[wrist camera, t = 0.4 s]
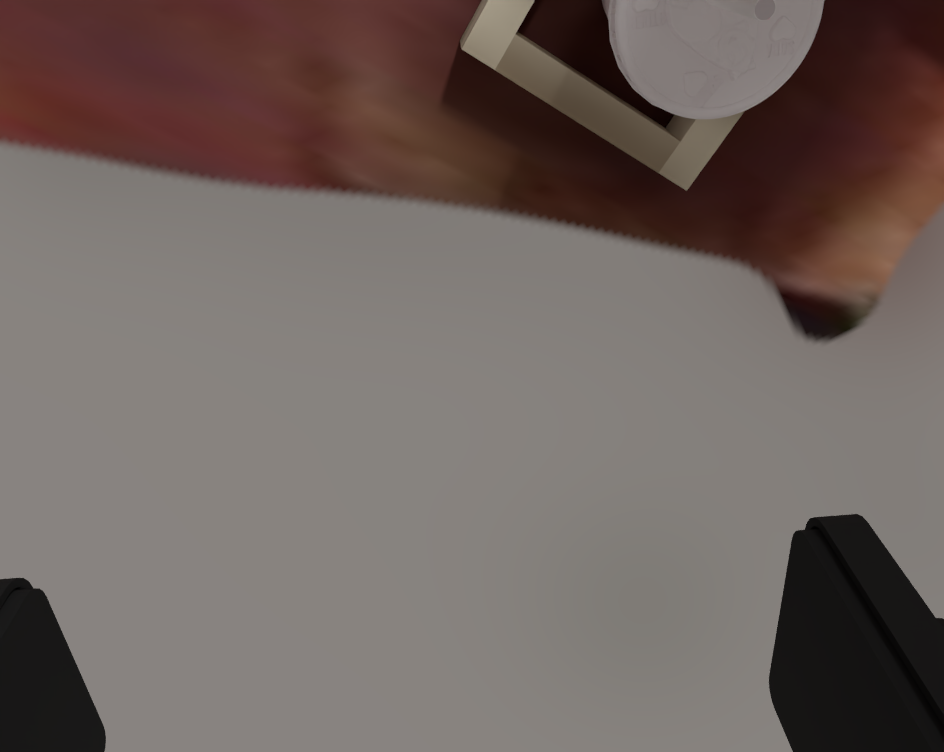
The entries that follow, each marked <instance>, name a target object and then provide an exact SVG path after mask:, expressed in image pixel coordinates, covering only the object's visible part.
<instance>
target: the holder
mask: <svg viewBox="0 0 944 752" xmlns="http://www.w3.org/2000/svg"><path fill="white" fill-rule="evenodd" d="M534 1H535V0H482V1H481V3H480V5H479V6H478V8H477V10H476V12H475V14H474V16H473V17H472V19H471V21H470V23H469V25H468V27H467V28H466V30H465V32H464V34H463V36H462V38H461V39H460V45H461V49H462V50H464V51H465V52H467V53H468V54H470V55H471V56H473V57H475V58H476V59H478V60H479V61H481V62H483V63H484V64H486V65H487V66H489V67H491V68H492V69H494V70H495V71H497V72H498V73H500V74H502V75H503V76H505V77H506V78H508V79H510V80H511V81H513V82H514V83H516V84H518V85H519V86H521V87H522V88H524V89H526V90H527V91H529V92H530V93H532V94H533V95H535V96H537V97H538V98H540V99H541V100H543V101H545V102H546V103H548V104H549V105H551V106H553V107H554V108H556V109H557V110H559V111H560V112H562V113H564V114H565V115H567V116H568V117H570V118H572V119H573V120H575V121H576V122H578V123H580V124H581V125H583V126H584V127H586V128H587V129H589V130H591V131H592V132H594V133H595V134H597V135H599V136H600V137H602V138H603V139H605V140H607V141H608V142H610V143H611V144H613V145H614V146H616V147H618V148H619V149H621V150H622V151H624V152H626V153H627V154H629V155H630V156H632V157H634V158H635V159H637V160H638V161H640V162H641V163H643V164H645V165H646V166H648V167H649V168H651V169H653V170H654V171H656V172H657V173H659V174H661V175H662V176H664V177H665V178H667V179H669V180H670V181H672V182H673V183H675V184H676V185H678V186H680V187H681V188H683V189H684V190H686V191H687V190H688V188H689V187H690V186H691V184H692V183H693V182H694V180H695V179H696V177H697V176H698V175H699V173H700V172H701V171H702V169H703V168H704V166H705V165H706V164H707V162H708V161H709V160H710V158H711V157H712V155H713V154H714V153H715V151H716V150H717V149H718V147H719V146H720V144H721V143H722V142H723V140H724V139H725V138H726V136H727V135H728V133H729V132H730V131H731V129H732V128H733V126H734V125H735V124H736V122H737V121H738V120H739V118H740V117H741V115H742V114H743V113H744V111H743V112H741V113H738V114H735V115H732V116H728V117H723V118H717V119H690V118H685V117H681V116H678V115H674V116H673V118H672V119H671V121H670V122H669V124H668V125H667V126H666V128H665V127H663V126H662V125H660V124H659V123H657V122H656V121H654V120H653V119H651V118H649V117H648V116H646V115H645V114H643V113H642V112H640V111H639V110H637V109H636V108H634V107H633V106H631V105H629V104H628V103H626V102H625V101H623V100H622V99H620V98H619V97H617V96H616V95H614V94H613V93H611V92H609V91H608V90H606V89H605V88H603V87H602V86H600V85H599V84H597V83H596V82H594V81H593V80H591V79H590V78H588V77H586V76H585V75H583V74H582V73H580V72H579V71H577V70H576V69H574V68H573V67H571V66H570V65H568V64H566V63H565V62H563V61H562V60H560V59H559V58H557V57H556V56H554V55H553V54H551V53H550V52H548V51H546V50H545V49H543V48H542V47H540V46H539V45H537V44H536V43H534V42H533V41H531V40H530V39H528V38H527V37H525V36H523V35H522V34H520V33H519V32H517V31H518V29H519V27H520V25H521V24H522V22H523V20H524V18H525V17H526V15H527V13H528V11H529V10H530V8H531V6H532V4H533V3H534ZM824 1H825V0H824Z"/></svg>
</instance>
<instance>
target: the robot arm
mask: <svg viewBox="0 0 944 752" xmlns="http://www.w3.org/2000/svg"><path fill="white" fill-rule="evenodd" d="M769 688H770V694H771V698H772V702H773V705H774V708H775V711H776V713H777V715H778V717H779V720H780V722H781V724H782V727H783V729H784V732H785V734H786V736H787V739H788V741H789V743H790V746H791V748H792V750H793V752H944V619H942V618H935V617H934V615H933V613H932V612H931V611H930V609H929V608H928V606H927V605H926V604H925V602H924V601H923V599H922V598H921V597H920V595H919V594H918V592H917V591H916V590H915V588H914V587H913V586H912V584H911V583H910V581H909V580H908V578H907V577H906V576H905V574H904V573H903V571H902V570H901V568H900V567H899V566H898V564H897V563H896V562H895V560H894V559H893V557H892V556H891V554H890V553H889V552H888V550H887V549H886V548H885V546H884V545H883V543H882V542H881V540H880V539H879V538H878V536H877V535H876V534H875V532H874V531H873V529H872V528H871V526H870V525H869V523H868V522H867V521H866V520H865V519H864V518H863V517H862V516H860V515H858V514H853V515H839V516H827V517H814V518H810V519H809V521H808V522H807V524H806V528H805V530H799V531H796V532H795V533H794V534H793V538H792V542H791V549H790V554H789V561H788V566H787V572H786V579H785V585H784V591H783V597H782V603H781V609H780V615H779V621H778V627H777V633H776V639H775V645H774V651H773V657H772V663H771V669H770V676H769ZM105 743H106V736H105V730H104V726H103V724H102V721H101V719H100V717H99V715H98V712H97V710H96V708H95V706H94V703H93V701H92V699H91V697H90V694H89V692H88V690H87V687H86V685H85V683H84V681H83V679H82V676H81V674H80V672H79V669H78V667H77V665H76V663H75V660H74V658H73V656H72V654H71V651H70V649H69V647H68V644H67V642H66V640H65V638H64V635H63V633H62V631H61V629H60V626H59V624H58V622H57V619H56V617H55V615H54V613H53V610H52V608H51V606H50V604H49V601H48V599H47V597H46V595H45V593H44V592H43V591H42V590H40V589H33V587H32V586H31V584H30V582H29V581H27V580H26V579H24V578H12V579H0V752H104V751H105Z"/></svg>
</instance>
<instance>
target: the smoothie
mask: <svg viewBox="0 0 944 752" xmlns="http://www.w3.org/2000/svg"><path fill="white" fill-rule="evenodd" d="M602 4H603V8H604V11H605V13H606V16H607V18H608V22H609V37H610V44H611V47H612V50H613V53H614V56H615V59H616V62H617V65H618V68H619V69H620V71H621V72H622V74H623V75H624V77H625V78H626V79H627V81H628V82H629V84H630V85H631V87H632V88H633V89H634V90H635V91H636V92H637V93H638V94H640V95H641V96H642V97H643V98H645V99H646V100H647V101H648V102H649V103H651V104H652V105H654V106H656V107H659V108H661V109H663V110H665V111H667V112H670V113H672V114H675V115H678V116H681V117H685V118H690V119H717V118H723V117H728V116H732V115H735V114H738V113H741V112H743V111H745V110H748V109H750V108H752V107H754V106H755V105H757V104H759V103H761V102H762V101H764V100H765V99H767V98H768V97H769V96H771V95H772V94H773V93H775V92H776V91H777V90H778V89H779V88H780V87H781V86H782V85H783V84H784V83H785V82H786V81H787V80H788V79H789V78H790V77H791V76H792V75H793V73H794V72H795V71H796V70H797V68H798V67H799V65H800V64H801V62H802V61H803V59H804V58H805V56H806V54H807V53H808V51H809V49H810V47H811V45H812V43H813V40H814V38H815V36H816V33H817V30H818V27H819V24H820V20H821V16H822V11H823V6H824V0H602Z"/></svg>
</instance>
